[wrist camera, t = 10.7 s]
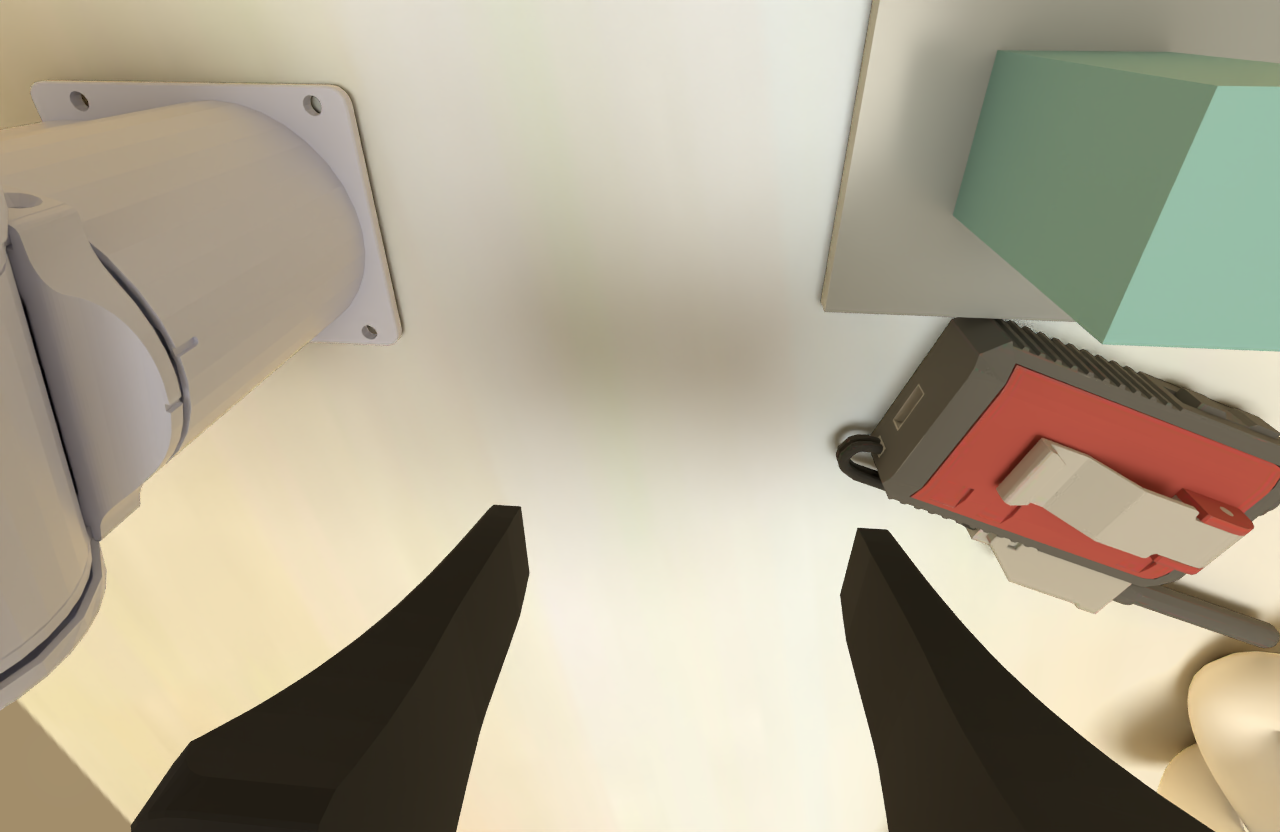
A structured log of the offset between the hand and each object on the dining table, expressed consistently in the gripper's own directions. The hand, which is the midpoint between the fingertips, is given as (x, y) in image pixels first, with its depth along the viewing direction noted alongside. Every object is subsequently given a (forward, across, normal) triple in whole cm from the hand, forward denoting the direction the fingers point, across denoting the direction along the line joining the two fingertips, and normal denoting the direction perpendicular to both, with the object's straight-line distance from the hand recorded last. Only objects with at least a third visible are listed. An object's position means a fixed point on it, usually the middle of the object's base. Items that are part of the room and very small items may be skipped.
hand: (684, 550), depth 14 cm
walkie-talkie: (+10, -15, +5) cm, 19 cm away
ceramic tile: (+9, -9, -7) cm, 15 cm away
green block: (+9, -9, -7) cm, 14 cm away
